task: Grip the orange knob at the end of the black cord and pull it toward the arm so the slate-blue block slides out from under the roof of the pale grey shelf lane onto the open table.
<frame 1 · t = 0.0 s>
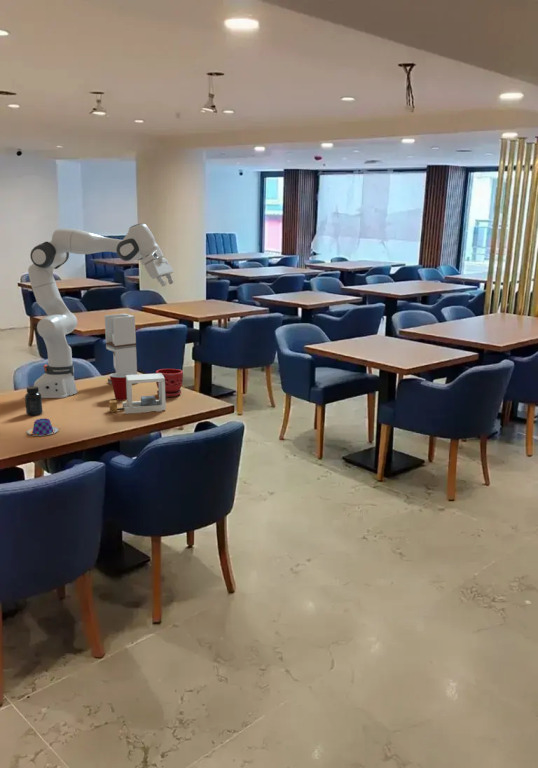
hand: (168, 284, 312), 54 cm above the table, tool tilted 30°, fingers open, 8 cm apart
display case: (122, 383, 357), on the table
shelf: (137, 409, 310), on the table
supplement bottle: (34, 414, 302), on the table
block: (132, 404, 309), point 3 cm above the table, slide at 0.0 cm
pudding: (43, 433, 279), on the table
plant pot: (169, 395, 336), on the table
plastic cup: (121, 398, 328), on the table
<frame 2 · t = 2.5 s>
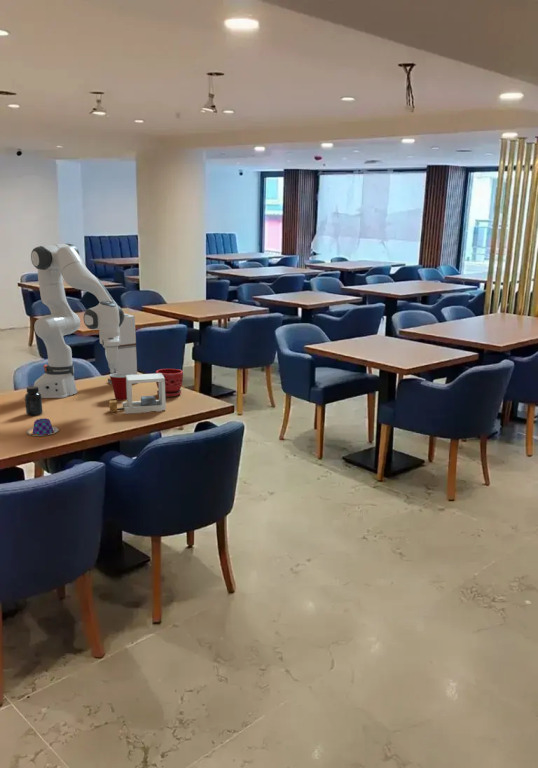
hand: (111, 370, 302), 19 cm above the table, tool pointing down, fingers open, 8 cm apart
nothing on the table moved.
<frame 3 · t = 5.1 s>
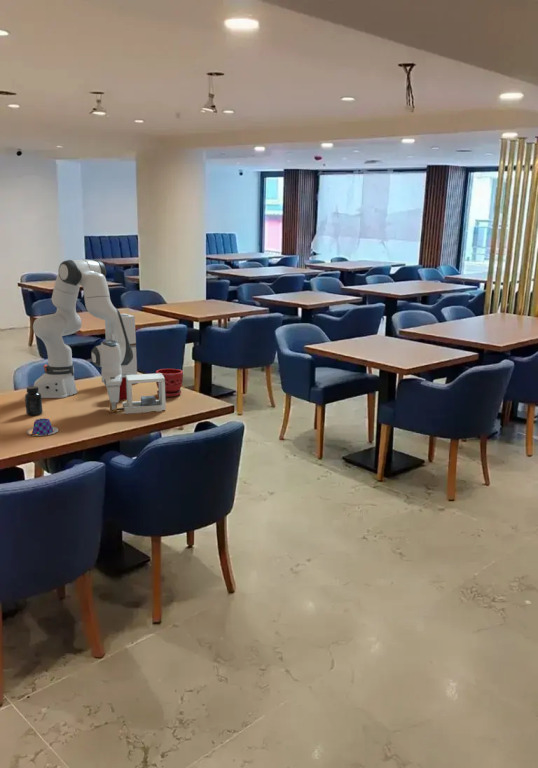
hand: (113, 407, 307), 2 cm above the table, tool pointing down, fingers closed on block, 3 cm apart
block: (132, 404, 309), point 3 cm above the table, slide at 0.0 cm, touching gripper
everything else where it was.
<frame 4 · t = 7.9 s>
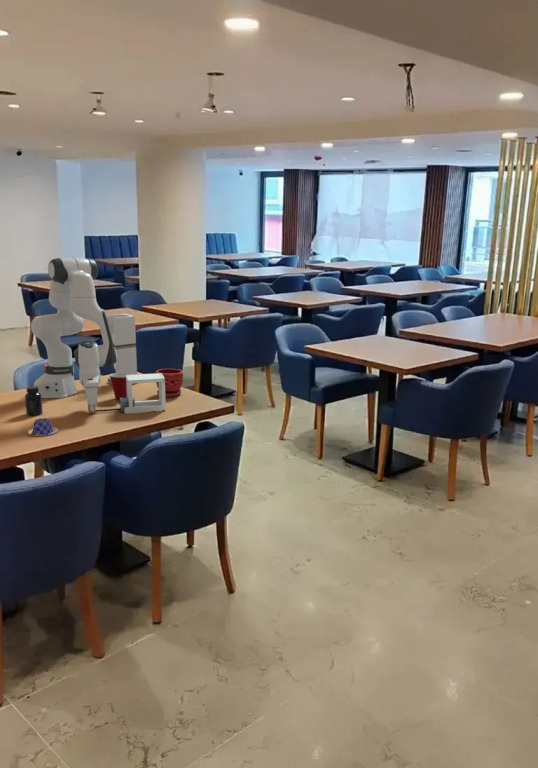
hand: (91, 409, 304), 2 cm above the table, tool pointing down, fingers closed on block, 3 cm apart
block: (111, 405, 306), point 3 cm above the table, slide at 9.3 cm, touching gripper
everything else where it was.
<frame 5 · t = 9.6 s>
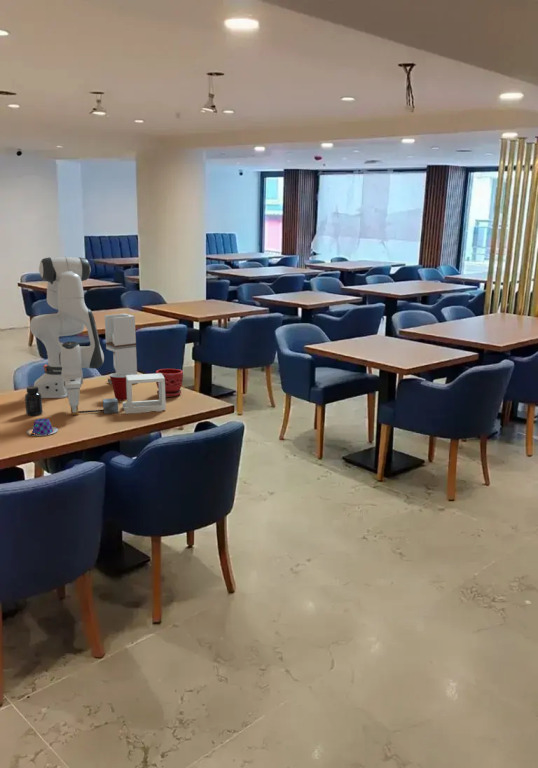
hand: (74, 410, 302), 2 cm above the table, tool pointing down, fingers closed on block, 3 cm apart
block: (94, 406, 304), point 3 cm above the table, slide at 16.7 cm, touching gripper
everything else where it was.
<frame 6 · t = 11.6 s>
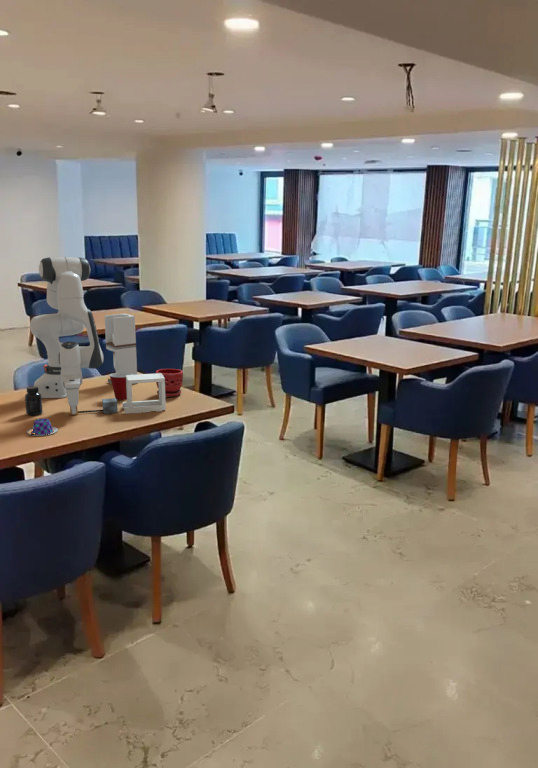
hand: (73, 410, 302), 2 cm above the table, tool pointing down, fingers open, 8 cm apart
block: (93, 406, 304), point 3 cm above the table, slide at 16.9 cm
everything else where it was.
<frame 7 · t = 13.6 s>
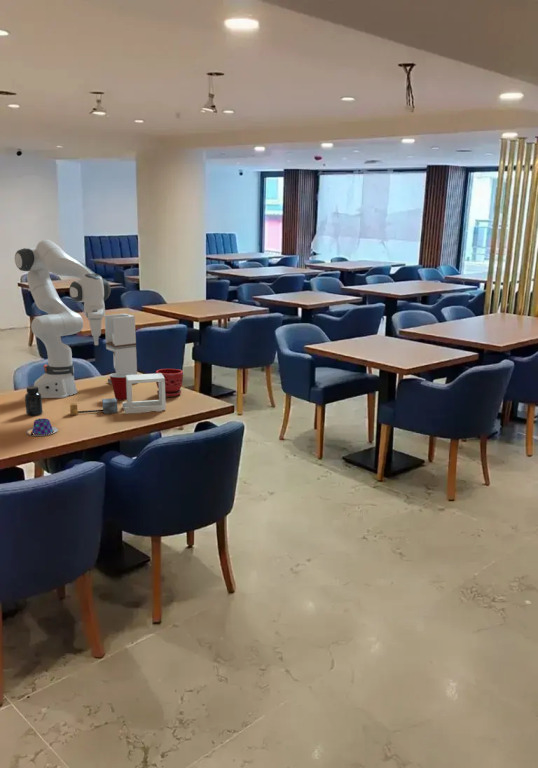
hand: (95, 342, 305), 30 cm above the table, tool pointing down, fingers open, 8 cm apart
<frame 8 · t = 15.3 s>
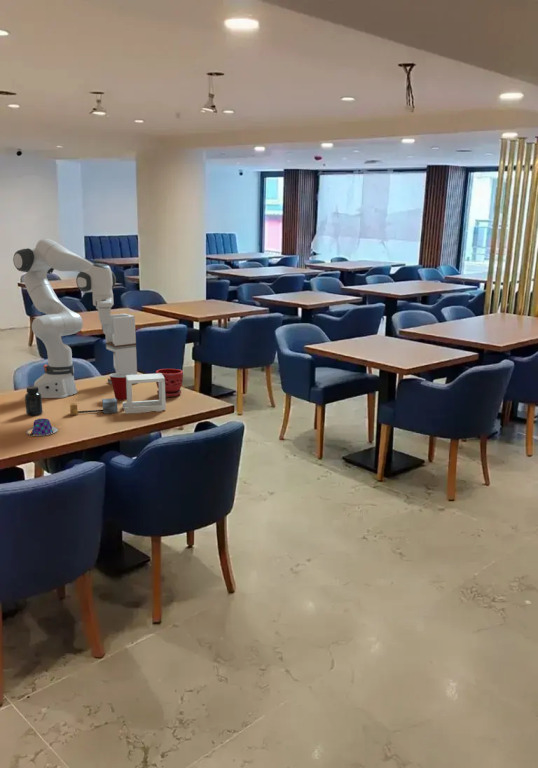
hand: (104, 332, 307), 34 cm above the table, tool pointing down, fingers open, 8 cm apart
at the end: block slide at 16.9 cm; the gripper is holding nothing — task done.
